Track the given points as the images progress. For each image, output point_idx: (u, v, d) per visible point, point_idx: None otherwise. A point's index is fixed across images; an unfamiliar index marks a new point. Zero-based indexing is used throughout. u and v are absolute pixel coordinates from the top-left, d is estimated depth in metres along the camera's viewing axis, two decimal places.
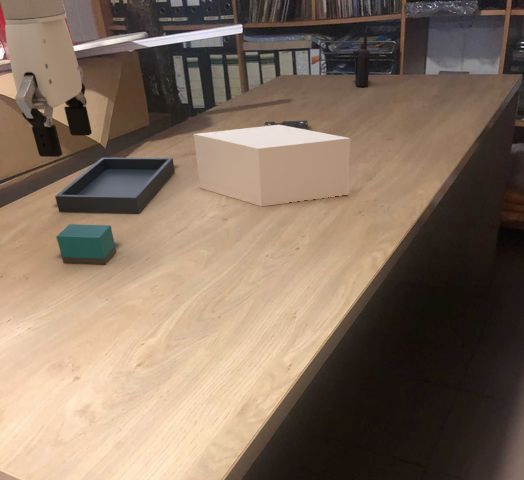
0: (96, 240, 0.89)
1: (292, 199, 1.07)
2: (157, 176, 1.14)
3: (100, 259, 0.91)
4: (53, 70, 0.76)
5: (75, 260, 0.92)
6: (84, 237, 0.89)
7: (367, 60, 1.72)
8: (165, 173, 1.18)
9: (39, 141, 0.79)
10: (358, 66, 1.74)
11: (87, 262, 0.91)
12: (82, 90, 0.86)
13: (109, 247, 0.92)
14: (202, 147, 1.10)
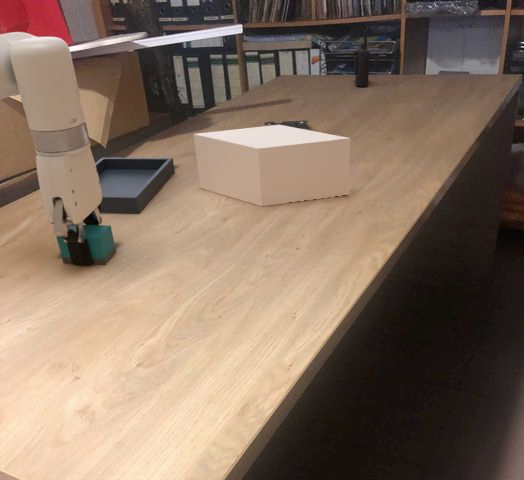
0: (96, 240, 0.89)
1: (292, 199, 1.07)
2: (157, 176, 1.14)
3: (100, 259, 0.91)
4: (78, 193, 0.84)
5: None
6: (84, 237, 0.89)
7: (367, 60, 1.72)
8: (165, 173, 1.18)
9: (73, 253, 0.89)
10: (358, 66, 1.74)
11: None
12: (98, 210, 0.93)
13: (109, 247, 0.92)
14: (202, 147, 1.10)
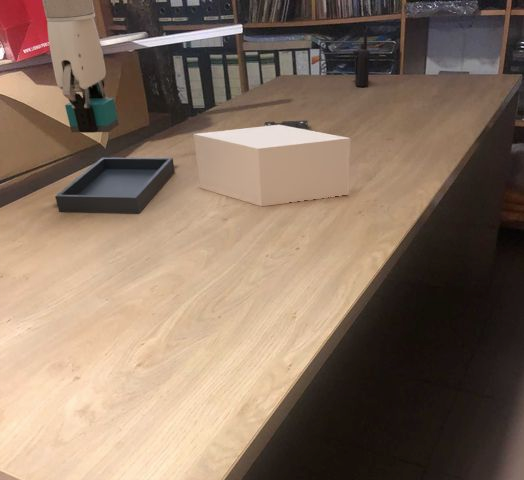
0: (100, 107, 0.99)
1: (292, 199, 1.07)
2: (157, 176, 1.14)
3: (104, 126, 1.01)
4: (84, 59, 0.95)
5: None
6: None
7: (367, 60, 1.72)
8: (165, 173, 1.18)
9: (79, 120, 1.00)
10: (358, 66, 1.74)
11: None
12: None
13: (112, 117, 1.03)
14: (202, 147, 1.10)
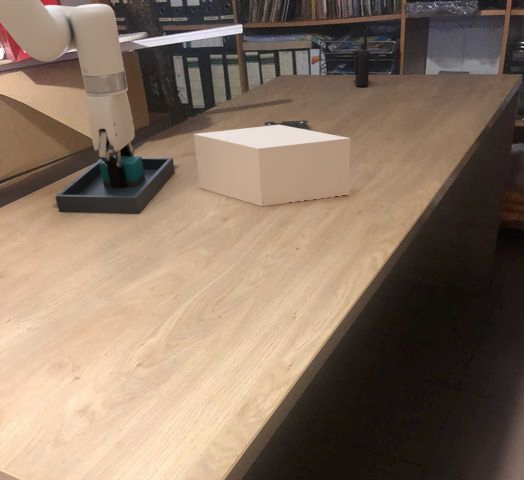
0: (130, 166, 1.14)
1: (292, 199, 1.07)
2: (157, 176, 1.14)
3: (133, 182, 1.15)
4: (118, 126, 1.09)
5: None
6: (121, 163, 1.14)
7: (367, 60, 1.72)
8: (165, 173, 1.18)
9: (112, 177, 1.14)
10: (358, 66, 1.74)
11: None
12: None
13: (140, 173, 1.17)
14: (202, 147, 1.10)
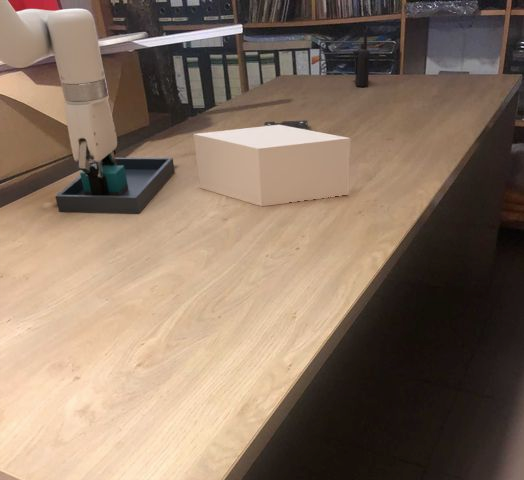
0: (112, 176, 1.09)
1: (292, 199, 1.07)
2: (157, 176, 1.14)
3: (115, 192, 1.11)
4: (99, 136, 1.05)
5: None
6: None
7: (367, 60, 1.72)
8: (165, 173, 1.18)
9: (93, 187, 1.10)
10: (358, 66, 1.74)
11: None
12: (113, 154, 1.14)
13: (122, 183, 1.13)
14: (202, 147, 1.10)
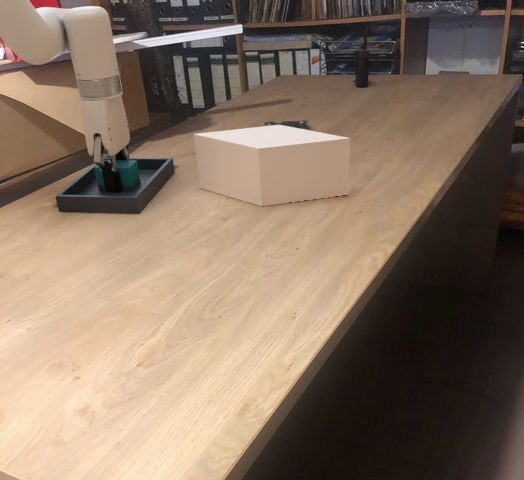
0: (126, 170, 1.12)
1: (292, 199, 1.07)
2: (157, 176, 1.14)
3: (128, 186, 1.13)
4: (113, 131, 1.07)
5: None
6: (116, 168, 1.12)
7: (367, 60, 1.72)
8: (165, 173, 1.18)
9: (107, 182, 1.12)
10: (358, 66, 1.74)
11: None
12: None
13: (135, 178, 1.15)
14: (202, 147, 1.10)
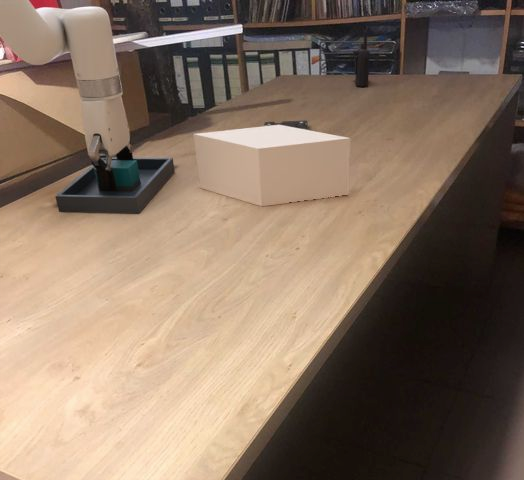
0: (126, 170, 1.12)
1: (292, 199, 1.07)
2: (157, 176, 1.14)
3: (128, 186, 1.13)
4: (113, 131, 1.07)
5: None
6: (116, 168, 1.12)
7: (367, 60, 1.72)
8: (165, 173, 1.18)
9: (101, 180, 1.10)
10: (358, 66, 1.74)
11: (118, 189, 1.14)
12: (129, 140, 1.17)
13: (135, 178, 1.15)
14: (202, 147, 1.10)
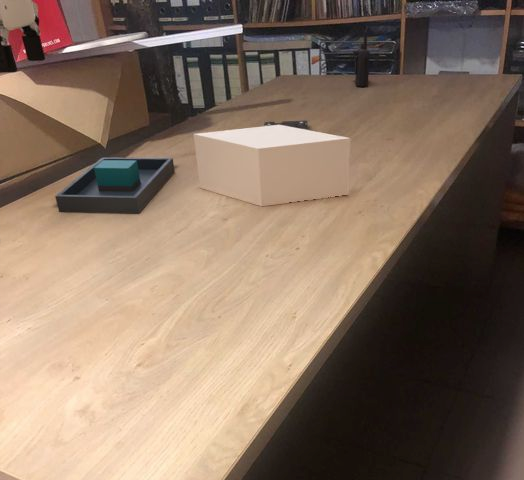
0: (126, 170, 1.12)
1: (292, 199, 1.07)
2: (157, 176, 1.14)
3: (128, 186, 1.13)
4: None
5: (108, 188, 1.14)
6: (116, 168, 1.12)
7: (367, 60, 1.72)
8: (165, 173, 1.18)
9: None
10: (358, 66, 1.74)
11: (118, 189, 1.14)
12: (36, 22, 1.05)
13: (135, 178, 1.15)
14: (202, 147, 1.10)
